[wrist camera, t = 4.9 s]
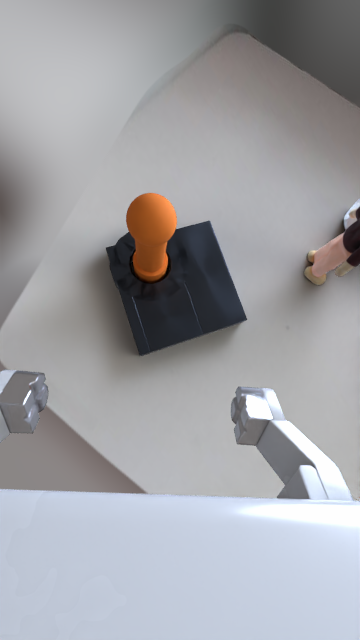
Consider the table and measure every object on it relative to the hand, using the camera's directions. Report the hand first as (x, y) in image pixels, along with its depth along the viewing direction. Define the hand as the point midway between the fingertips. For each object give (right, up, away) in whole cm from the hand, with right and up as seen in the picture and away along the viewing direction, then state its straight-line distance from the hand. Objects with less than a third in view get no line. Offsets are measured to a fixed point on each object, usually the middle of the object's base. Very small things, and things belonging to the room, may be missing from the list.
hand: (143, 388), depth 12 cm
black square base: (+1, +6, +19) cm, 20 cm away
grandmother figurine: (+19, +10, +22) cm, 31 cm away
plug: (-2, +9, +19) cm, 21 cm away
